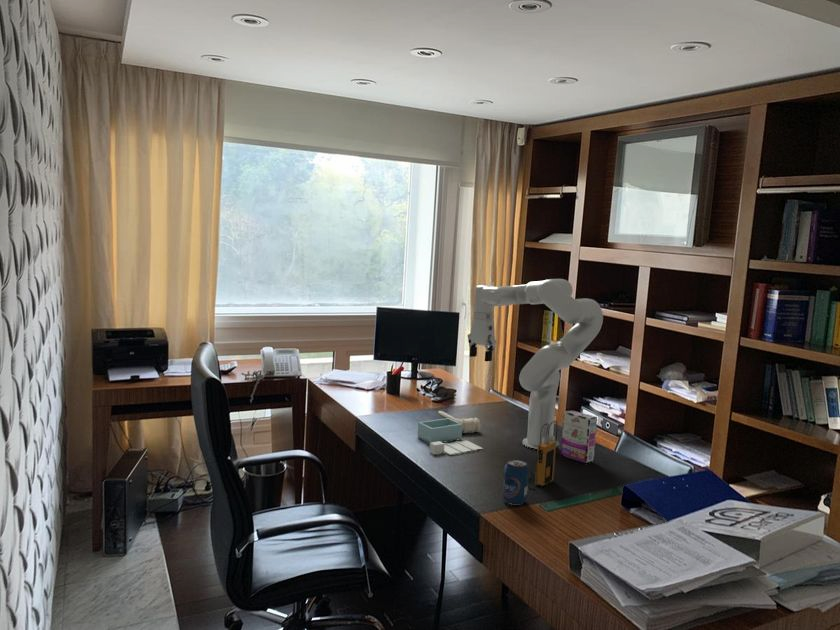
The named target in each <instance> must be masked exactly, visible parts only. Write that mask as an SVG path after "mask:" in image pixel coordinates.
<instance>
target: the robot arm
mask: <svg viewBox="0 0 840 630" xmlns="http://www.w3.org/2000/svg"><path fill="white" fill-rule="evenodd" d="M572 295H573V286H572V284H571V282H570V281H568V280H566V279H564V278H549V279H545V280H537V281H529V282H528V283H526V284H519V285H517V284H515V285H504V286H503V285H500V286H492V285H487V284H479V285H478V284H477V285H476V286H475V288H474V302H473V319H472V323H471V330H470V333H468V334H467V339H468V341H467V342H468V347H469V357H470V358H474V357H477V356H478V346H477V345H479V346H483V347H484V348H485V351H484V362H491V361H493V352H494V350H495V348H496V346H497V344H498V343H497V340H496V339H495V325H494V324H495V323H494V320H493V317H494V316H493V315H494V307H502V306H512V305H526V304H527V305H528V304H530V305H542V304H543V305H545V306H546V307H547V308H549V310H551V311H552V312H553V313H554V314H555V315H556V316H558V318H560V319H561V320H562V321H563V322H565V323H567V324H570V325H573V326H571V328H569V329H568V331H567V332H566V333H564V335H563V336H562V337H561V338H560V339H559V340H558V341H556V342H554V343H550V344H546V345H544V346H542V347H541V348H540V349H539V350H537V351H536V353H534V355H533V356H532V357H531V358H530V360H529V361H528V362H527V363H526V364H525V365H524V366H523V367H522V369H521V370H520V374H519V377H518V381H519V383H520V386H521V387H522V388H523V389H524V390H525V391H528V392H530V396H529V402H528V403H529V404H528V405H529V406H528V415H527V416H528V419H527V430H526V431H527V435H526V437H525V438H523V439H522V445H523V446H524V445H525V446H524V447H526V446H527V447H526V448H528V447H530V448H529V449H531V448H535V449H537V448H538V445H539V444H540V434H541V443H544V442H545V440H546V434H547V438H548V431H547V427H548V428H549V426H550V428H549V441H553V442H555V441H556V448H557V446H559V445H560V442H559V441H558V440H556V435H554V428H555V427H554V425H555V422H553V421H555V413H556V401H557V393H558V387H559V384H560V380H561V379H560V378H561V375H560V370H564V369H566V368H569V367H570V366H571V365H572V364H573V363H574V361H575V360H576V359H577V358H578V357H579V356H580V355H581V354H582V353H583V352H584V350H585V349H586V348H587V347H588V346H589V345H590V344H591V343H592V341H594V339H595V338H596V337H597V336H598V334H599V333H600V330H601V328H602V325H603V323H604V321H603V320H604V314H603V309H602V307H601V306H600V304H599V303H598V302H597V301H596V300H595V299H592V298H574V297H572ZM552 422H553V423H552ZM551 423H552V424H551ZM544 424H547V425H544ZM548 424H549V426H548ZM550 424H551V425H550ZM543 425H544V426H543ZM542 426H543V428H542ZM541 429H542V432H541ZM535 449H534V450H535Z"/></svg>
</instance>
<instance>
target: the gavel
mask: <svg viewBox="0 0 840 630" xmlns="http://www.w3.org/2000/svg"><path fill="white" fill-rule="evenodd" d="M437 414H438V415H440V416H442V417H443V418H444V419H445V418H450V419H452V420H454V421H456V422H458V423H461V424H462V434H463V433H465V434H474V433H475V432H478V433H479V432H480V430H481V421H480V420H479V418H477V417H474V418H473V417H470V418H455V417H454V416H453V415H450V414H448V413H446V412H444V411H442V410H439V411H437Z"/></svg>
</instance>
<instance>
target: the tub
mask: <svg viewBox="0 0 840 630" xmlns="http://www.w3.org/2000/svg"><path fill="white" fill-rule="evenodd" d="M417 424H418V426H417V438H418V439H419V438H421V439H423V440H424V441H423V440H422V441H423V442H425V441H426V442H425V443H427V442H428V443H432V442H438V441H440V442H444V441H450V442H452V441H451V440H456V441H458V440H457V439H462V438H463V437H462V435H463V433H462V424H461V423H458V422H456V421H454V420H452V419H450V418H445V417H444V418H439V419H432V420H426V421H425V420H424V421H418V422H417ZM421 439H420V440H421ZM428 443H427V444H428ZM444 443H445V442H444Z"/></svg>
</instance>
